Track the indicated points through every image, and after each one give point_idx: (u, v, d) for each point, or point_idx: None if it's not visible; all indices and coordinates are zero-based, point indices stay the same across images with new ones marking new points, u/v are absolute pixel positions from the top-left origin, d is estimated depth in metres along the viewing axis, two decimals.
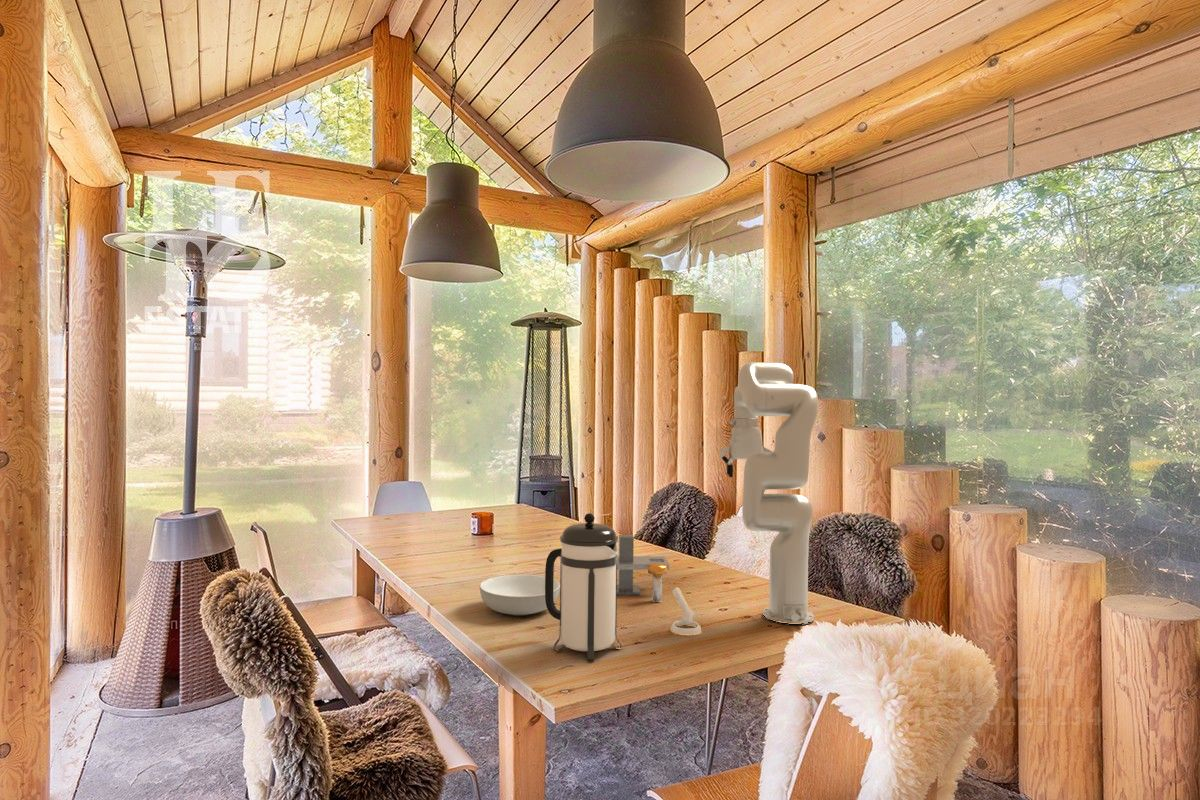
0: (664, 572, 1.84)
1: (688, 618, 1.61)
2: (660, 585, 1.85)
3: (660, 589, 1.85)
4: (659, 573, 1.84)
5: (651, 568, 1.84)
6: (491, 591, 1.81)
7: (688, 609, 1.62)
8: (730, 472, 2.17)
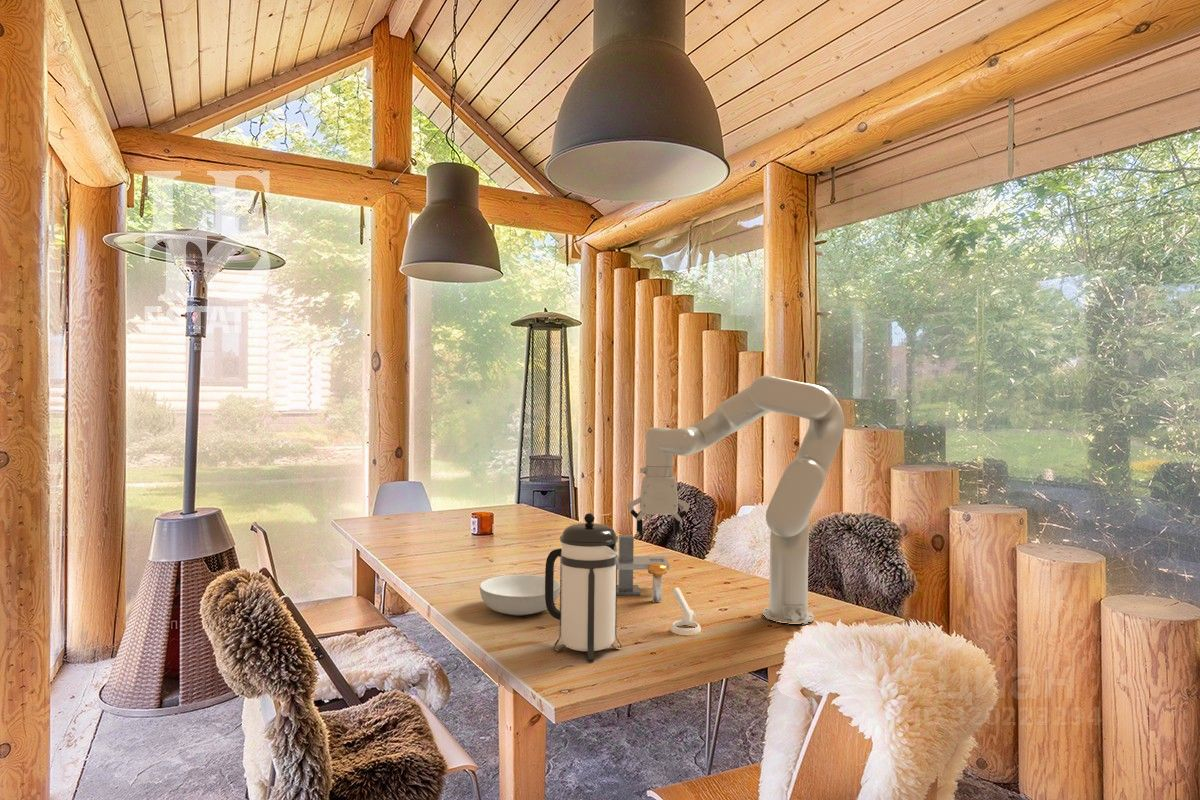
0: (664, 572, 1.84)
1: (688, 618, 1.61)
2: (660, 585, 1.85)
3: (660, 589, 1.85)
4: (659, 573, 1.84)
5: (651, 568, 1.84)
6: (491, 591, 1.81)
7: (688, 609, 1.62)
8: (639, 529, 1.85)
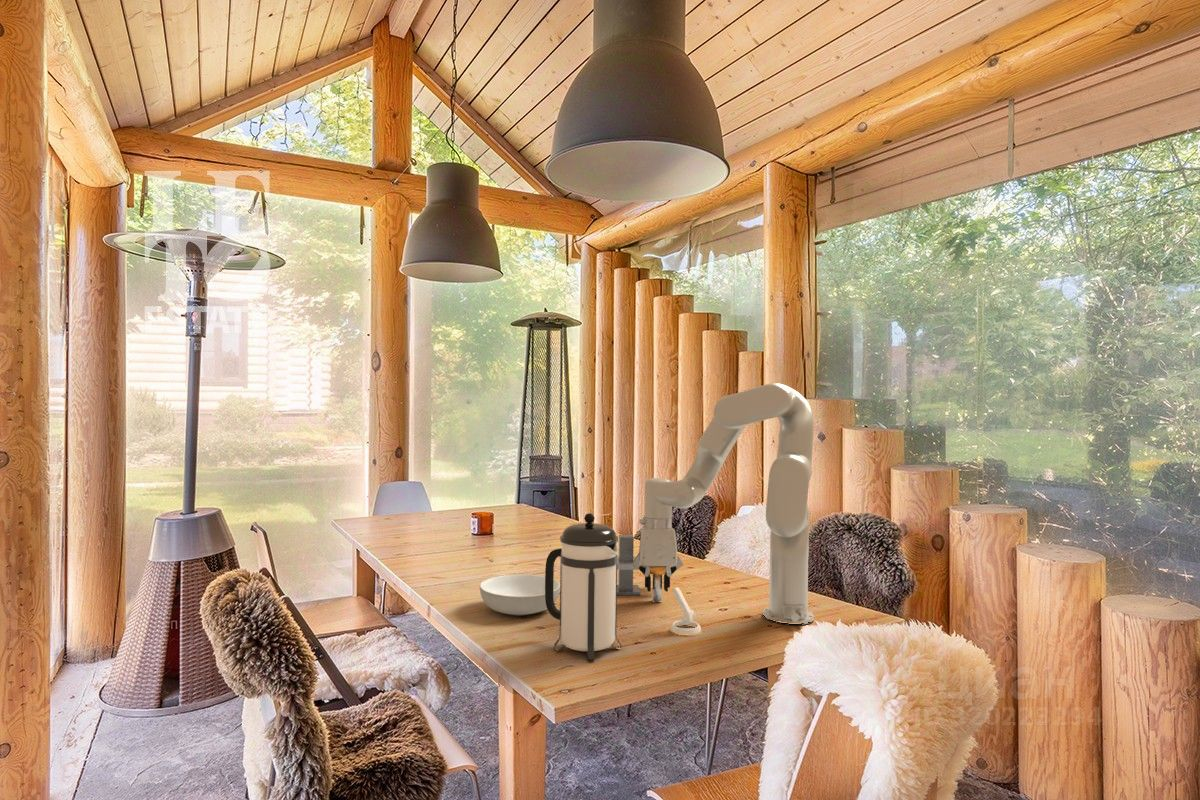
0: (664, 572, 1.84)
1: (688, 618, 1.61)
2: (660, 585, 1.85)
3: (660, 589, 1.85)
4: (659, 573, 1.84)
5: (651, 568, 1.84)
6: (491, 591, 1.81)
7: (688, 609, 1.62)
8: (648, 585, 1.85)
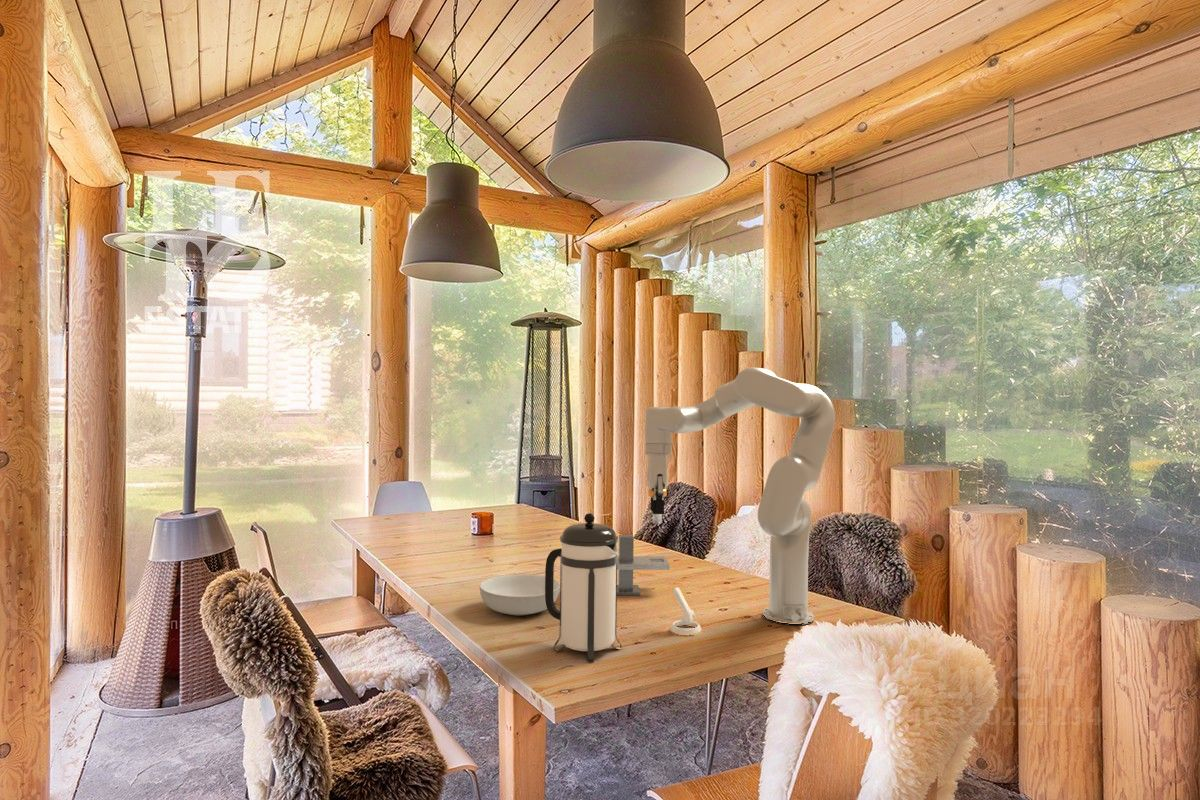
0: (651, 494, 1.95)
1: (688, 618, 1.61)
2: None
3: None
4: None
5: None
6: (491, 591, 1.81)
7: (688, 609, 1.62)
8: None
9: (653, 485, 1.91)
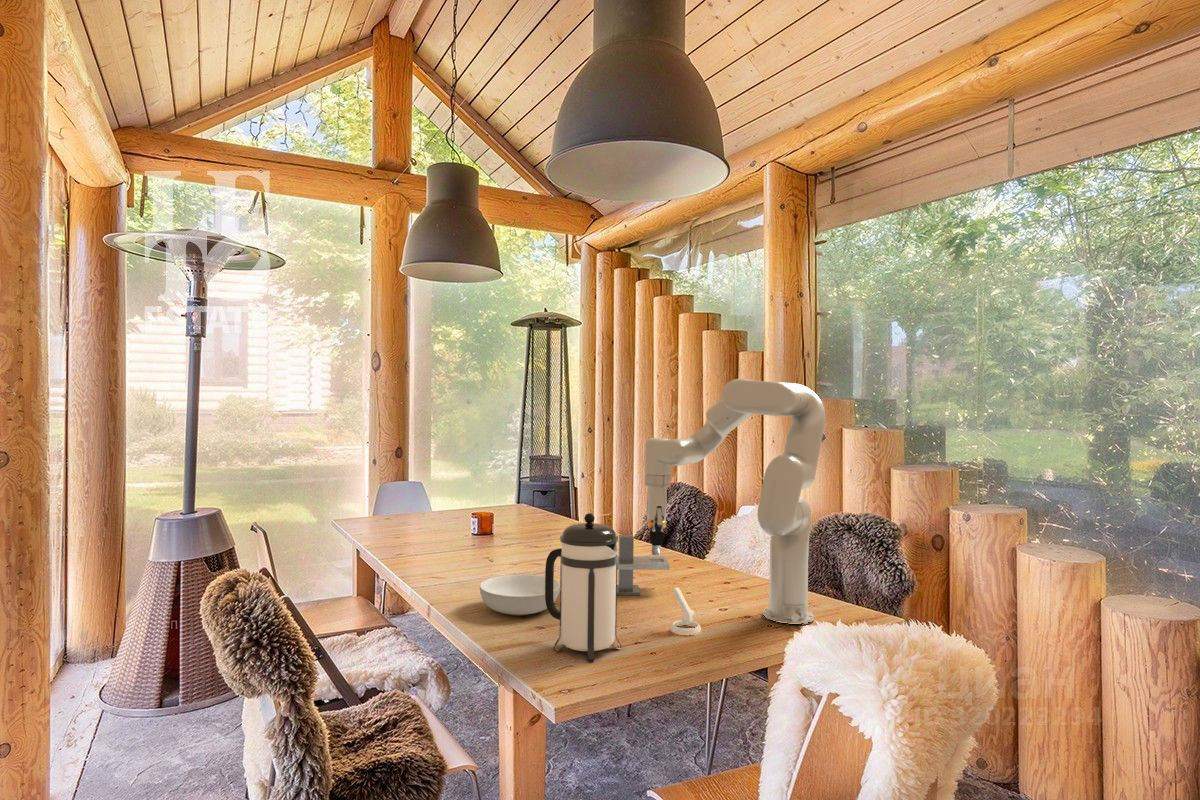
0: (650, 526, 1.95)
1: (688, 618, 1.61)
2: None
3: None
4: None
5: None
6: (491, 591, 1.81)
7: (688, 609, 1.62)
8: None
9: (652, 517, 1.91)
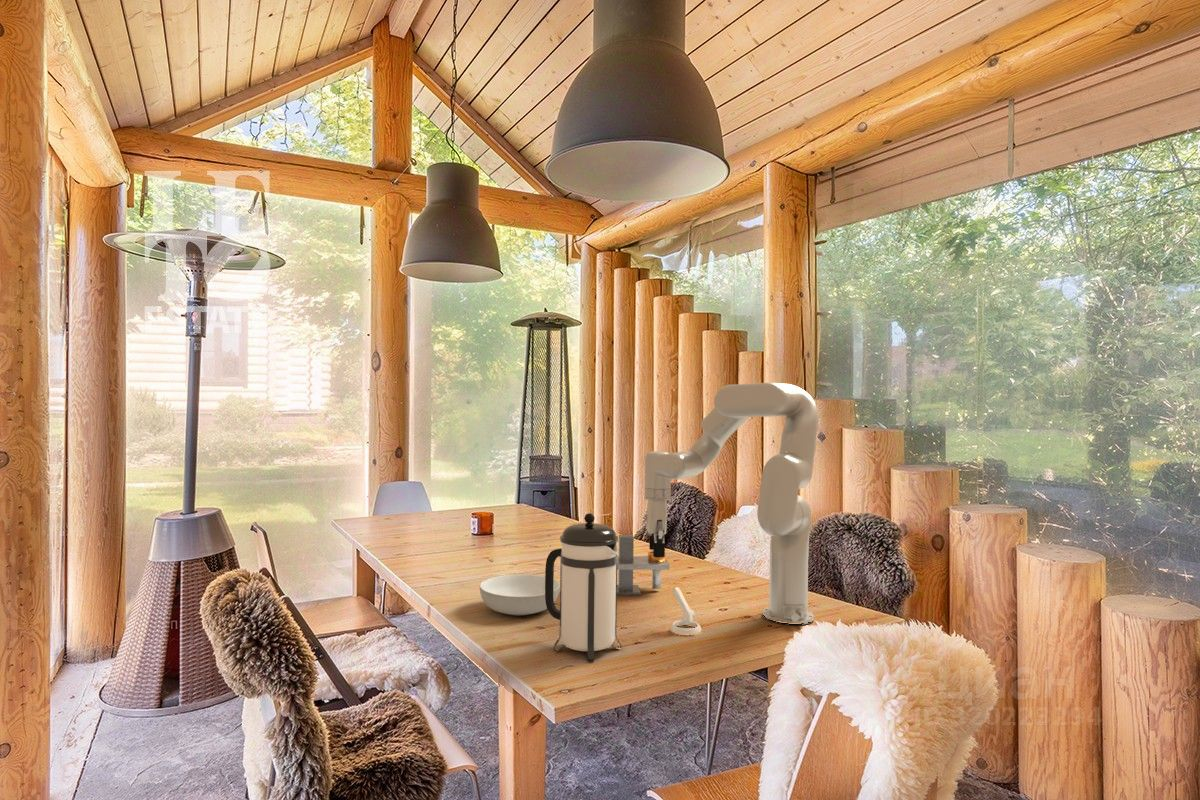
0: (650, 559, 1.95)
1: (688, 618, 1.61)
2: (653, 572, 1.96)
3: (653, 576, 1.96)
4: (648, 559, 1.96)
5: None
6: (491, 591, 1.81)
7: (688, 609, 1.62)
8: None
9: (652, 531, 1.91)
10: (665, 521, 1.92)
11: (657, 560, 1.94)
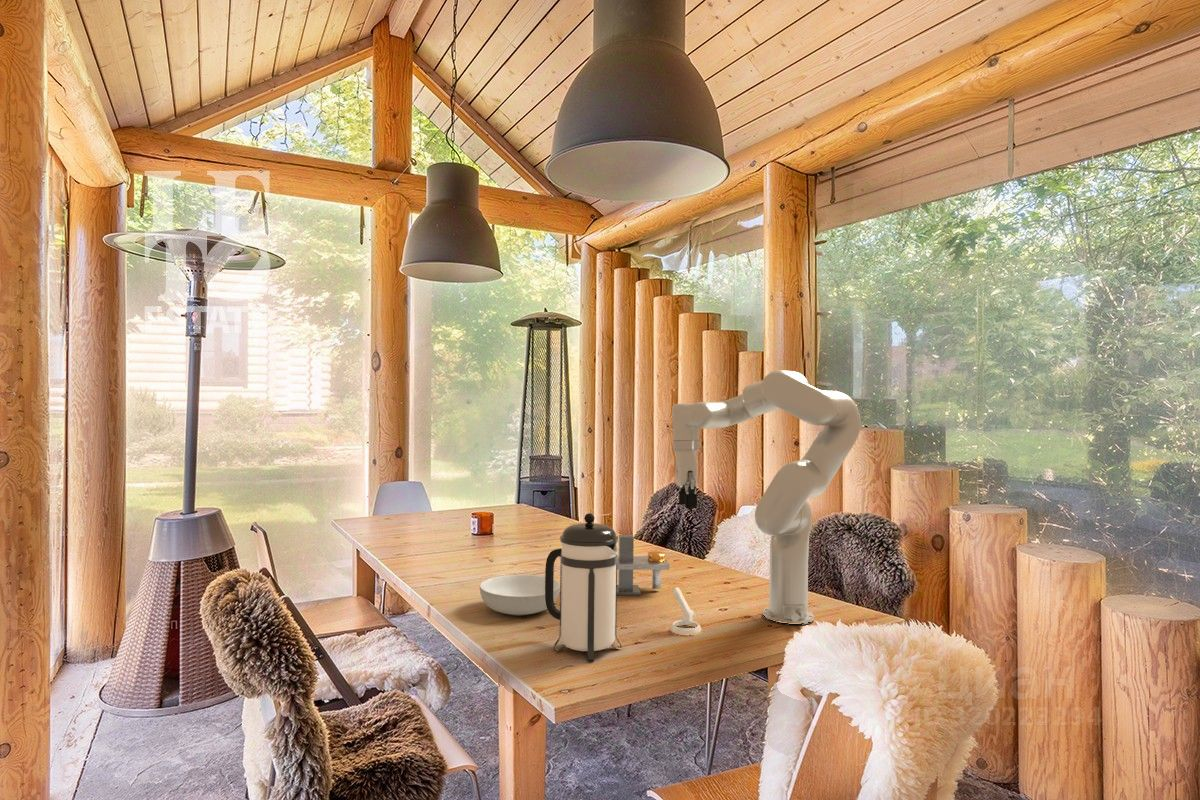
0: (650, 559, 1.95)
1: (688, 618, 1.61)
2: (653, 572, 1.96)
3: (653, 576, 1.96)
4: (648, 559, 1.96)
5: None
6: (491, 591, 1.81)
7: (688, 609, 1.62)
8: None
9: (684, 482, 1.89)
10: (696, 472, 1.89)
11: (657, 560, 1.94)
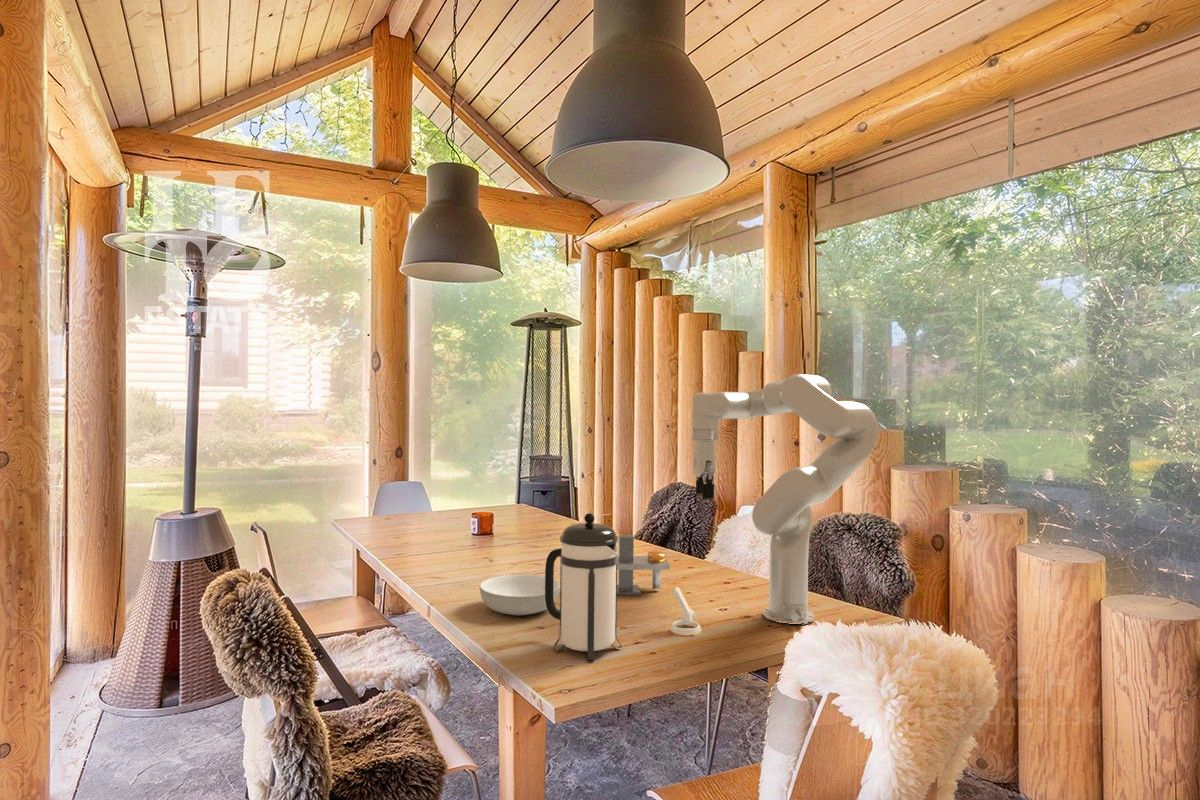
0: (650, 559, 1.95)
1: (688, 618, 1.61)
2: (653, 572, 1.96)
3: (653, 576, 1.96)
4: (648, 559, 1.96)
5: None
6: (491, 591, 1.81)
7: (688, 609, 1.62)
8: None
9: (702, 472, 1.88)
10: (714, 462, 1.88)
11: (657, 560, 1.94)
